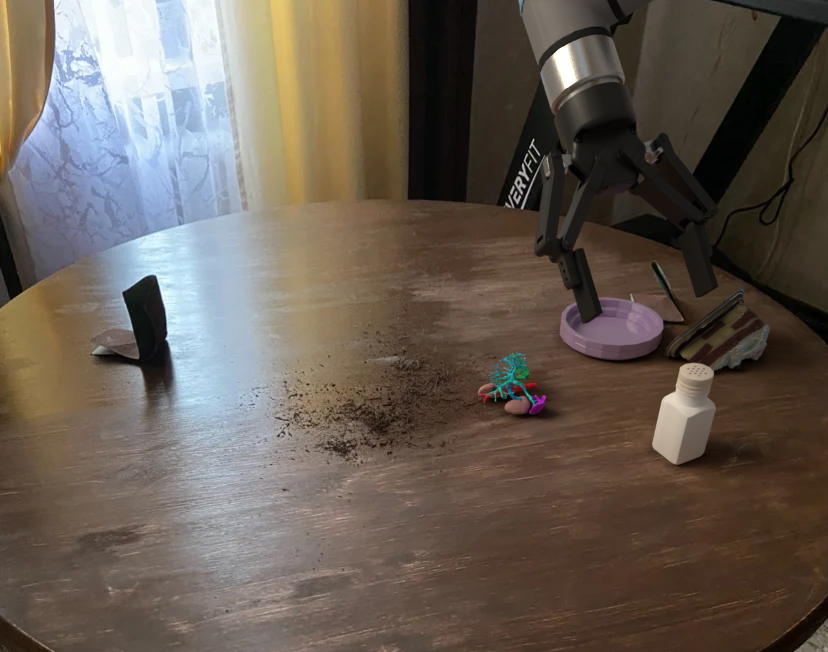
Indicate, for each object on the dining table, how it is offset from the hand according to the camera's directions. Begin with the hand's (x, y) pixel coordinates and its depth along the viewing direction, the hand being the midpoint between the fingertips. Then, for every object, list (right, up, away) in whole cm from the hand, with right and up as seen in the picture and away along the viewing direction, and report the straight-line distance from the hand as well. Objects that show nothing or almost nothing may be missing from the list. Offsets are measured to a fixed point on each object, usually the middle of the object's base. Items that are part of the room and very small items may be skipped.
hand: (651, 305), depth 83 cm
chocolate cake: (+13, -2, +17) cm, 21 cm away
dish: (+1, +2, +21) cm, 21 cm away
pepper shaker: (+3, -14, +3) cm, 15 cm away
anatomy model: (-13, -8, +10) cm, 19 cm away
